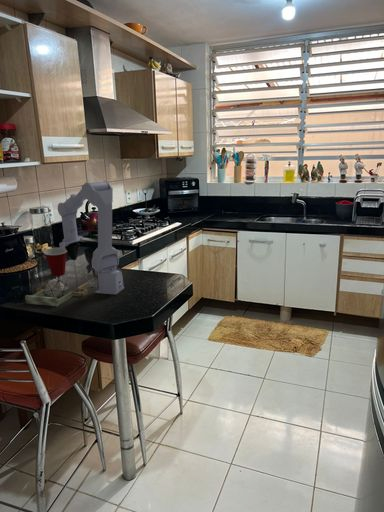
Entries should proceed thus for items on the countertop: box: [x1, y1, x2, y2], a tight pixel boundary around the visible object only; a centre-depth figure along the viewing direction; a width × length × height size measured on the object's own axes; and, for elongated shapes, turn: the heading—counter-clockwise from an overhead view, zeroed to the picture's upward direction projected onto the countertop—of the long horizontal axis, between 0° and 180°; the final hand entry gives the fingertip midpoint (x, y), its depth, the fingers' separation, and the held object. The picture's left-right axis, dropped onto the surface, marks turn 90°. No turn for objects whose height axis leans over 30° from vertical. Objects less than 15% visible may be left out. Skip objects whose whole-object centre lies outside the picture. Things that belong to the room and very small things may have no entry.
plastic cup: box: [43, 247, 68, 277], centre depth 177 cm, size 11×11×12 cm
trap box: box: [24, 279, 90, 307], centre depth 152 cm, size 22×22×3 cm
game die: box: [42, 276, 68, 298], centre depth 148 cm, size 9×8×10 cm
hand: (73, 259), depth 168 cm, fingers closed
